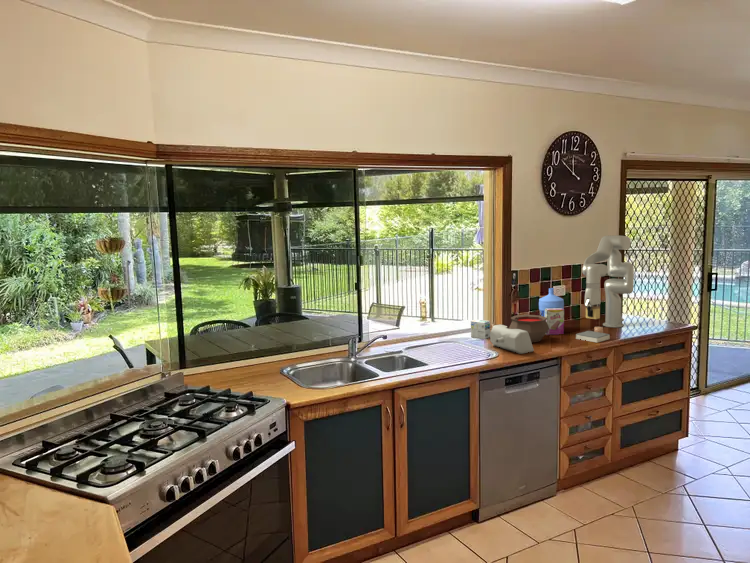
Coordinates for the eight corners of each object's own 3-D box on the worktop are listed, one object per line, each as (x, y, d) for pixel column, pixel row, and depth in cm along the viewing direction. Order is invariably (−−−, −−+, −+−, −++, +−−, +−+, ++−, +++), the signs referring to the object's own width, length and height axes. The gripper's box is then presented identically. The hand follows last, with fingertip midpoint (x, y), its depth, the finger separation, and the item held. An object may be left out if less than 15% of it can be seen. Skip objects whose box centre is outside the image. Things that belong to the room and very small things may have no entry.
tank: (483, 347, 312) (483, 326, 311) (505, 343, 319) (505, 323, 318) (511, 356, 290) (511, 334, 288) (534, 352, 297) (534, 330, 295)
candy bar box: (546, 335, 335) (546, 309, 333) (544, 333, 340) (544, 308, 338) (564, 334, 335) (564, 309, 333) (562, 333, 340) (562, 307, 338)
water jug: (558, 327, 356) (558, 286, 352) (567, 332, 340) (567, 289, 337) (535, 328, 355) (535, 287, 352) (543, 333, 340) (543, 290, 336)
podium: (588, 335, 330) (588, 330, 330) (609, 339, 319) (609, 334, 319) (575, 338, 323) (575, 333, 323) (596, 342, 312) (597, 337, 311)
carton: (589, 316, 323) (590, 305, 322) (599, 318, 318) (600, 306, 317) (585, 317, 321) (585, 306, 320) (595, 319, 315) (595, 307, 314)
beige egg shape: (597, 334, 333) (597, 326, 332) (604, 335, 329) (604, 327, 328) (592, 335, 330) (592, 327, 330) (599, 336, 326) (600, 328, 326)
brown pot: (531, 346, 309) (531, 319, 307) (500, 339, 329) (500, 313, 327) (557, 339, 322) (557, 313, 320) (526, 333, 342) (526, 308, 340)
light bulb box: (490, 337, 336) (490, 320, 334) (485, 339, 331) (484, 322, 330) (476, 335, 343) (476, 319, 342) (470, 337, 338) (470, 320, 337)
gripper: (595, 284, 325) (595, 313, 327) (579, 286, 315) (578, 317, 317) (606, 285, 319) (606, 315, 321) (590, 287, 309) (590, 318, 311)
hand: (592, 315), depth 319 cm, fingers closed on carton, 4 cm apart
